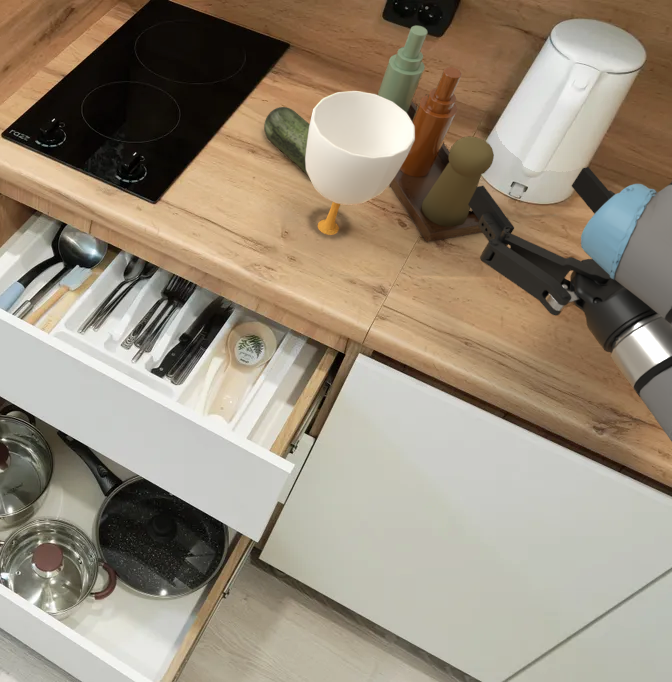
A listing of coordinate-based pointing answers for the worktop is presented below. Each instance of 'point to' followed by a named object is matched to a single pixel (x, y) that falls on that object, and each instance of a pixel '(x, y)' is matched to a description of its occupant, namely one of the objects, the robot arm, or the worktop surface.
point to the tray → (415, 192)
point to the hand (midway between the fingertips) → (528, 185)
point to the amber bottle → (432, 124)
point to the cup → (355, 149)
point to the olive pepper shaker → (458, 182)
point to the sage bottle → (404, 70)
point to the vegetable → (288, 134)
